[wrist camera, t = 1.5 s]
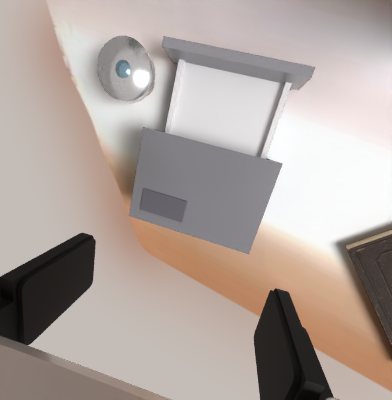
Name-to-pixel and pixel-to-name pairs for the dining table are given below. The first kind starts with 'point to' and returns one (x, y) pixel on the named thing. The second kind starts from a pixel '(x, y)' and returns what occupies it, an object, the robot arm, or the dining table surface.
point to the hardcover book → (376, 274)
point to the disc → (126, 69)
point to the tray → (229, 95)
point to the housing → (202, 189)
